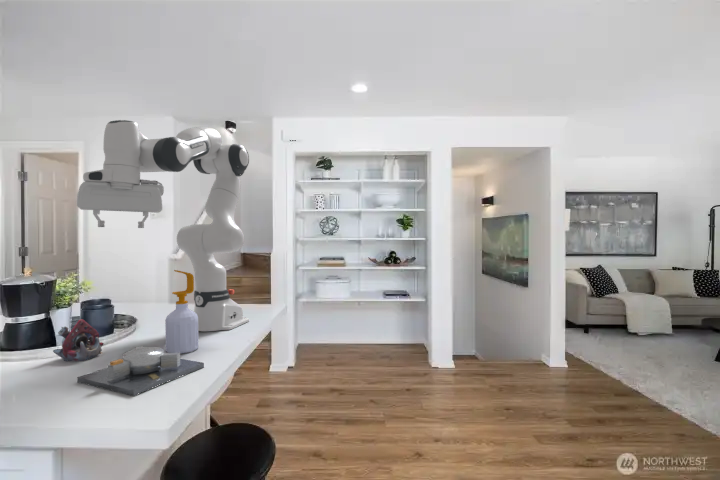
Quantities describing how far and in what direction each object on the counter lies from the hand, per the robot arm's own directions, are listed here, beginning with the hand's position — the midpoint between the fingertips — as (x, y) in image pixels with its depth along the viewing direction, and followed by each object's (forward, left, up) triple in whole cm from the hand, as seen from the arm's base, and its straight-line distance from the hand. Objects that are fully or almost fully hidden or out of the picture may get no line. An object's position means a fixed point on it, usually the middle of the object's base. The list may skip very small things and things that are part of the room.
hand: (121, 227), depth 109 cm
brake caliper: (+3, -15, -38) cm, 41 cm away
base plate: (+5, +15, -37) cm, 40 cm away
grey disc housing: (+7, +15, -36) cm, 39 cm away
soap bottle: (-14, +7, -38) cm, 41 cm away
